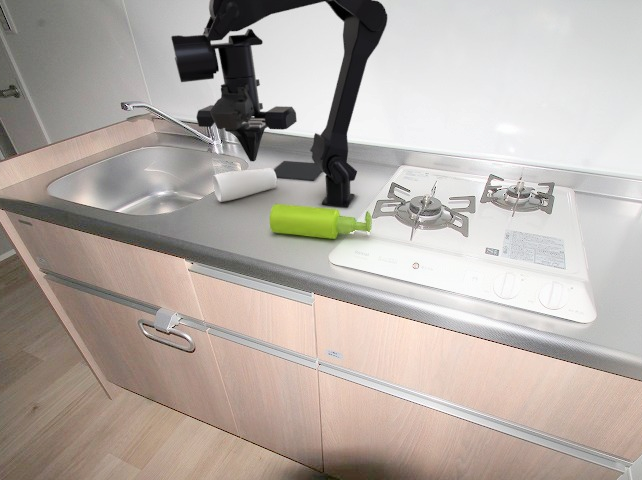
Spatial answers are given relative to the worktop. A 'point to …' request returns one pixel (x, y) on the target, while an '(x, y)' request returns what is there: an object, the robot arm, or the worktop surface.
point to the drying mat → (297, 170)
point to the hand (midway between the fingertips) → (253, 160)
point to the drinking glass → (243, 183)
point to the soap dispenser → (314, 221)
